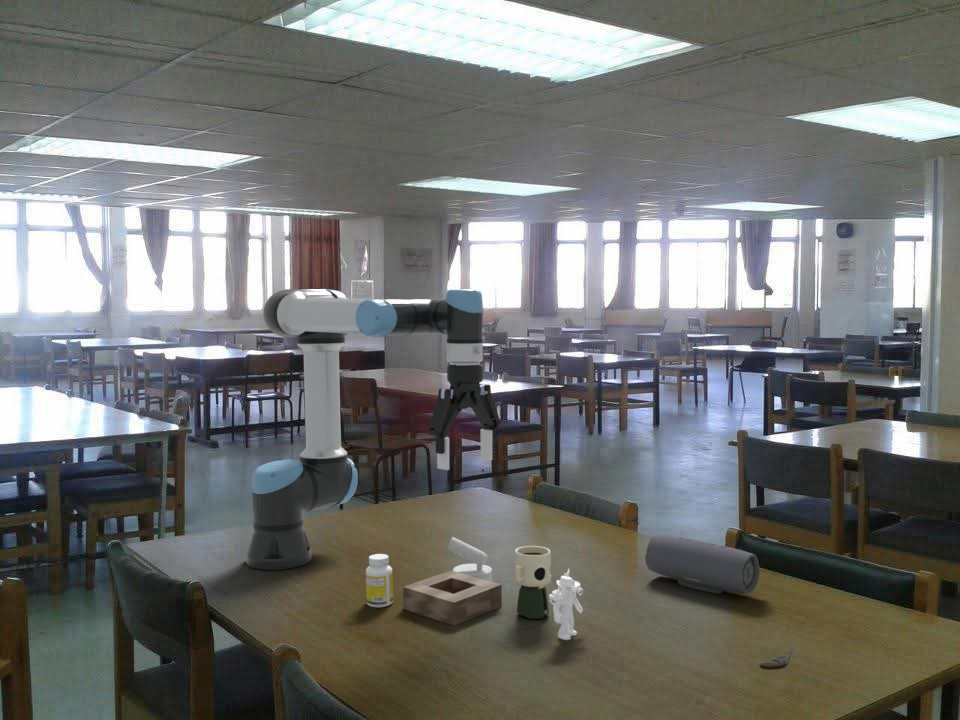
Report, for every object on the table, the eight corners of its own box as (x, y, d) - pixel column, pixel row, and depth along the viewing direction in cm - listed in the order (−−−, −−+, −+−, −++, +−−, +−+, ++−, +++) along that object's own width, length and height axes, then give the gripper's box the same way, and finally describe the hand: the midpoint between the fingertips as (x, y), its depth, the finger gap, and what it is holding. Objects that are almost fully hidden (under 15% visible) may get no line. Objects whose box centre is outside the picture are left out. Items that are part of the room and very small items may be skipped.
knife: (783, 673, 144) (783, 669, 143) (758, 669, 145) (758, 665, 145) (797, 646, 156) (797, 642, 156) (774, 642, 158) (774, 639, 158)
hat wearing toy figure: (570, 625, 164) (570, 563, 164) (588, 630, 162) (588, 567, 161) (544, 640, 157) (544, 575, 156) (562, 645, 155) (562, 580, 154)
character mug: (532, 628, 163) (531, 560, 163) (501, 619, 168) (501, 553, 167) (563, 611, 172) (563, 547, 171) (533, 604, 176) (533, 541, 175)
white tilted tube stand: (451, 531, 196) (495, 534, 194) (451, 573, 197) (495, 575, 195) (442, 542, 188) (487, 544, 186) (442, 585, 188) (487, 588, 186)
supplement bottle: (381, 597, 181) (381, 551, 180) (398, 603, 177) (397, 556, 176) (360, 603, 177) (360, 556, 176) (377, 610, 173) (376, 562, 173)
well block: (403, 608, 174) (403, 586, 174) (451, 591, 184) (451, 570, 184) (454, 625, 165) (454, 602, 164) (501, 606, 175) (501, 584, 175)
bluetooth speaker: (760, 593, 182) (761, 547, 181) (740, 605, 175) (741, 556, 175) (666, 571, 197) (666, 528, 197) (643, 581, 191) (644, 536, 190)
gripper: (436, 367, 169) (437, 475, 170) (516, 360, 187) (516, 457, 189) (409, 366, 174) (410, 470, 175) (489, 359, 192) (490, 454, 194)
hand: (465, 464), depth 182 cm, fingers open, 13 cm apart
